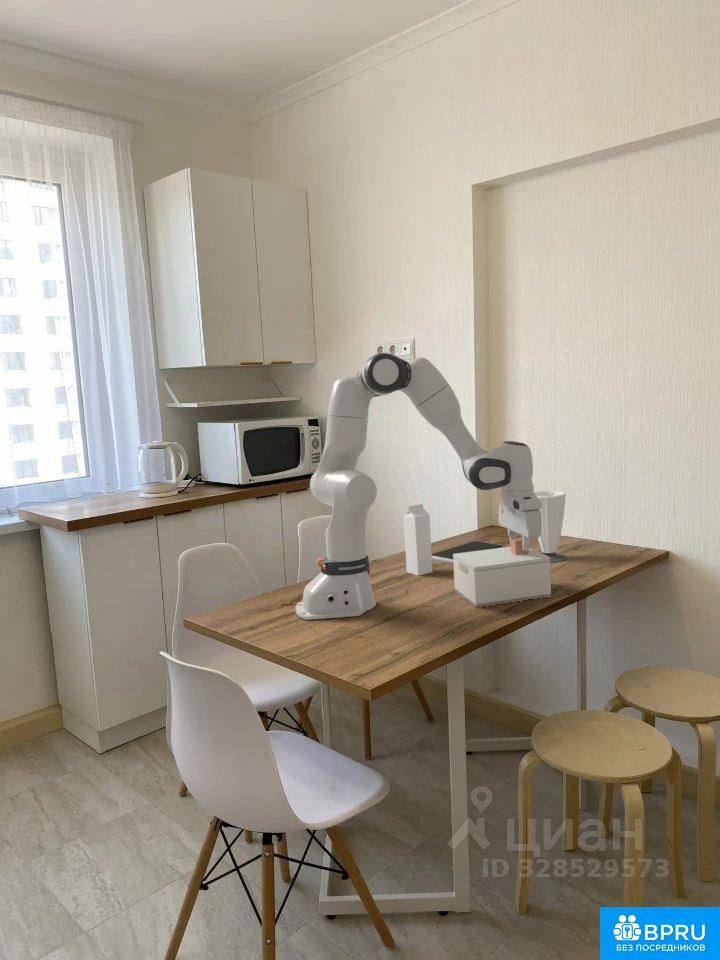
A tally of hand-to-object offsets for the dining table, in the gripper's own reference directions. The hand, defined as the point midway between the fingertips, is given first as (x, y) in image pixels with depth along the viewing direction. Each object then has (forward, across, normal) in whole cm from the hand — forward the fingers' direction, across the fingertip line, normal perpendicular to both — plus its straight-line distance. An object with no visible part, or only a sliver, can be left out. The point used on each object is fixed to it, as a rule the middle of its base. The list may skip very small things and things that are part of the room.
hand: (519, 547), depth 201 cm
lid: (+3, 0, -6) cm, 7 cm away
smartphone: (+14, -48, +2) cm, 50 cm away
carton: (+13, 0, -6) cm, 14 cm away
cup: (+13, -28, +24) cm, 39 cm away
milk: (+13, -32, -20) cm, 40 cm away
